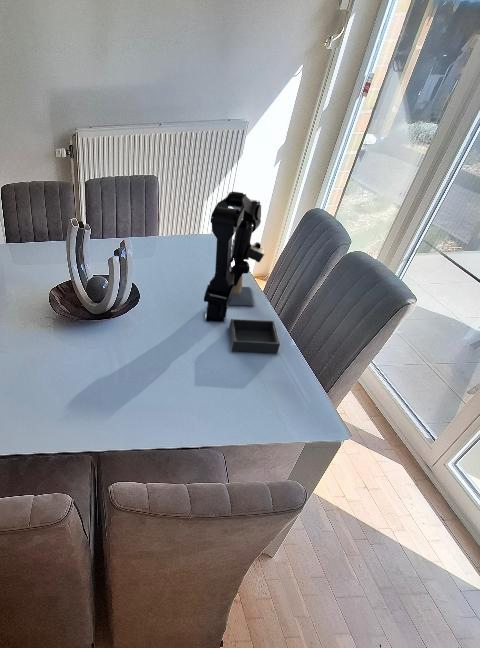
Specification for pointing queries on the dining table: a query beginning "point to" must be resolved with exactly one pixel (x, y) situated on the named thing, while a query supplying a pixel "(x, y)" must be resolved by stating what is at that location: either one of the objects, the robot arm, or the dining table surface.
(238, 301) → the mat
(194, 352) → the dining table surface
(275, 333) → the bin
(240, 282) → the figurine
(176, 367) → the dining table surface
